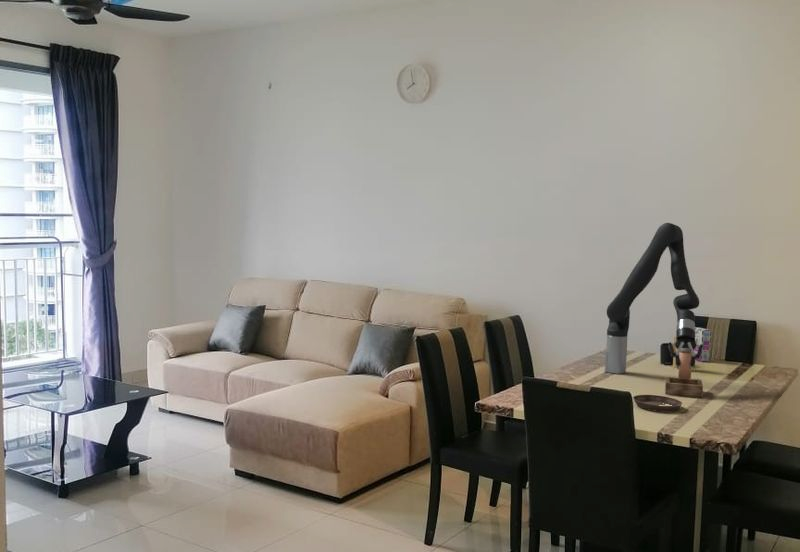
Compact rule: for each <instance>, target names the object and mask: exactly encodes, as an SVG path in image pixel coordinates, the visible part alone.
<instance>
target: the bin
mask: <svg viewBox="0 0 800 552" xmlns="http://www.w3.org/2000/svg"><path fill="white" fill-rule="evenodd" d="M703 385H704V384H703V381H702V379H699V378H691V379H682V378H679V377H675V376H665V386H664V387H665V389H664V390H665V391H664V392H665V393H664V395H665V394H669V395H668V396H675V395H678V396H677V397H685V396H689V398H696V399H703V392H704V391H703Z"/></svg>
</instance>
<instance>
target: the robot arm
mask: <svg viewBox="0 0 800 552" xmlns="http://www.w3.org/2000/svg"><path fill="white" fill-rule="evenodd" d="M684 247H685V245H684V233H683V230H682V228H681V227H680V226H678V225H676V224H674V223H671V222H665V223H663V224H661V225H659V226H658V228H657V229H656V232H655V234H654V235H653V238H652V239H651V241H650V243H649V245H648V246H647V248H646V249H645V251H644V253H643V254H642V256H641V257H640V259H639V260H638V262H637V263H636V264H635V266H634V268H632V270H631V272H630V274H629V276H628V277H627V279H626V281H625V282H624V284H623V286H622V288H621V289H620V291H619V293H618V294H617V295H616V296H615V297H614V299H613V300H612V301H611V302H610V303H609V305H608V306H607V309H606V316H607V318H608V327H607V330H606V346H605V347H606V348H605V349H606V350H605V358H604V359H605V360H604V361H605V362H604V372H605V373H610V374H617V375H619V374H626V371H627V355H628V351H627V350H628V334H629V333H628V332H629V328H630V318H631V317H630V315H631V312H630V311H631V309H630V308H631V305H632V304H633V302H634V301H635V300H636V298H637V297H638V296H639V295H640V294H641V293H642V292H643V291H644V290H645V289H646V288H647V286H648V285H649V284H650V282H651V281H652V279H653V278H654V277H655V275H656V273H657V271H658V268H659V264H660V260H661V258H662V255H663V253H664V252H665V251H666V250H667V248H668V251H669V254H670V275H671V279H672V284H673V287H674V289H675V290H676V291H685V292H686V293H685V294H681V295H677V296H675V298H673V307H674V309H675V311H676V312H675V313H676V317H677V320H676V330H675V331H676V333H675V334H676V336H675V337H676V342H675V343H674V342H673V343H672V342H670V341H669V342H668V343H669V346H668V347H669V350H670V354H671V357H675V358H676V364H677V366H679V352H680V348H689V349H691V353H692V360H691V367H693V368H694V366H695V365H696V360H695V359H699V358H700V356H701V353H702V350H703V345H702V344H701V345H697V344H696V342H695V327H696V323H695V322H696V318H695V317H696V315H695V313H694V312H693V310H694V309H697V308H698V307H699V306H700V299H699V296H698V295H697V294H696V292H695V289H694V287H693V285H692V283H691V279H690V276H689V272H688V267H687V262H686V257H685V256H686V255H685V248H684ZM674 346H676V348H677V349H678V351H677V353H674V349H673V348H674ZM695 348H697V350H698V352H697V354H695V353H694V349H695Z"/></svg>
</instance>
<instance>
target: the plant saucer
mask: <svg viewBox="0 0 800 552" xmlns="http://www.w3.org/2000/svg"><path fill="white" fill-rule="evenodd" d="M632 399H633V402H634V403H635V404H636V406H637V407H639V408H641V407H642V408H641V409H643V408H645V409H644V410H647V409H650V410H649V411H651V410H656V411H655V412H658V411H671V412H676V411H677V410H678V409H679V408H680V407H681V406H682V405H683V402H682V401H681V400H678V399H676V398H673V397H669V396H663V395H655V394H637V395H634V396H633V397H632ZM663 403H664V404H663ZM665 404H669V405H672V406H659V405H665ZM675 410H676V411H675Z"/></svg>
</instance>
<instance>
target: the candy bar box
mask: <svg viewBox="0 0 800 552" xmlns="http://www.w3.org/2000/svg"><path fill="white" fill-rule="evenodd" d="M711 340H712V330H711V329H708V328H703V327H696V326H695V342H696V344H697V345H701V344H702V345H703V350H702V353H701V356H700V358H699V359H695V361H698V362H701V363H705V362H706V363H709V362H710V357H711V343H712V342H711ZM697 352H698V350H697V348H695V349H694V353H695V354H697Z"/></svg>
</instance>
